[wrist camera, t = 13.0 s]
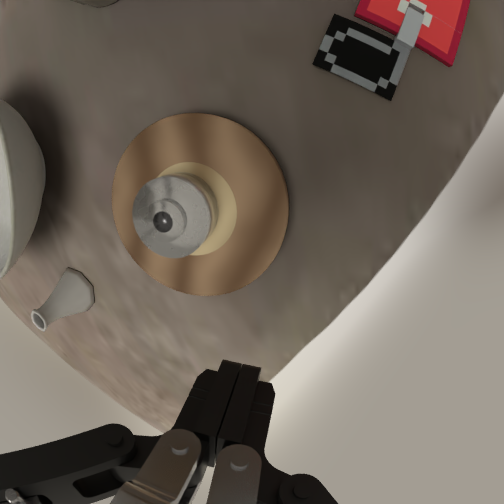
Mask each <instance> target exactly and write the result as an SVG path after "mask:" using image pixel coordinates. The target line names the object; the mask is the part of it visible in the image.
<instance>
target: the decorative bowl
mask: <svg viewBox="0 0 504 504" xmlns="http://www.w3.org/2000/svg"><path fill="white" fill-rule="evenodd" d="M45 180H46V170H45V162H44V157H43V154H42V151H41V148H40V146H39V144H38V143H37V141H36V140H35V138H34V135H33V133H32V131H31V129H30V128H29V126H28V124H27V123H26V121H25V120H24V119H23V117H22V116H21V115H20V114H19V113H18V112H17V111H16V110H15V109H14V108H13V107H12V106H10V105H9V104H8V103H7V102H5V101H3V100H2V99H0V279H1V278H2V277H4V276H5V275H6V274H7V273H8V271H9V270H10V269H11V268H12V267H13V265H14V264H15V263H16V261H17V260H18V259H19V257H20V255H21V254H22V252H23V251H24V249H25V247H26V245H27V244H28V242H29V240H30V238H31V235H32V233H33V231H34V228H35V225H36V222H37V219H38V216H39V212H40V207H41V202H42V195H43V192H44V188H45Z"/></svg>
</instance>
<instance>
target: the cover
mask: <svg viewBox="0 0 504 504" xmlns="http://www.w3.org/2000/svg"><path fill="white" fill-rule="evenodd" d="M218 216H219V209H218V202H217V199H216V197H215V194H214V192H213V191H212V189H211V188H210V186H209V185H208V184H207V183H206V182H205V181H204V180H202V179H201V178H200V177H198V176H196V175H194V174H191V173H187V172H174V173H170V174H167V175H164V176H161V177H158V178H155V179H153V180H151V181H149V182H147V183H146V184H145V185H144V186H143V187H142V188H141V189H140V190H139V192H138V193H137V195H136V197H135V200H134V203H133V209H132V217H133V223H134V227H135V230H136V232H137V234H138V236H139V238H140V239H141V241H142V242H143V243H144V244H145V245H146V246H147V247H148V248H149V249H150V250H151V251H153V252H155V253H156V254H158V255H160V256H163V257H167V258H182V257H185V256H188V255H190V254H192V253H193V252H194V251H196V250H197V249H198V248H199V247H200V246H201V245H202V244H203V242H204V241H205V240H206V239H207V238H208V237H209V236H210V235H211V234H212V233H213V231H214V229H215V227H216V225H217V222H218Z"/></svg>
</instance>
